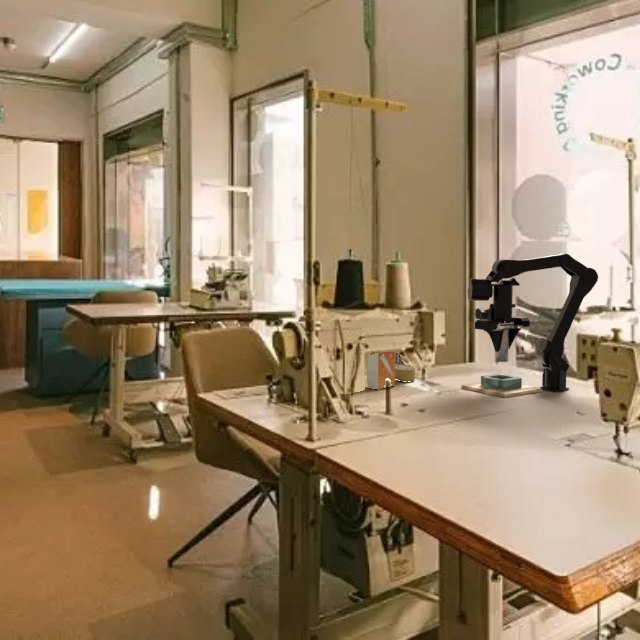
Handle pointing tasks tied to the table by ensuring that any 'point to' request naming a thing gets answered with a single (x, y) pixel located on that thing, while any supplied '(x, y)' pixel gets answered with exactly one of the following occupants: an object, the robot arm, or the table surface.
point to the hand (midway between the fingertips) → (501, 351)
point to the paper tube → (403, 370)
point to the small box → (380, 369)
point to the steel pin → (503, 347)
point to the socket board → (501, 392)
